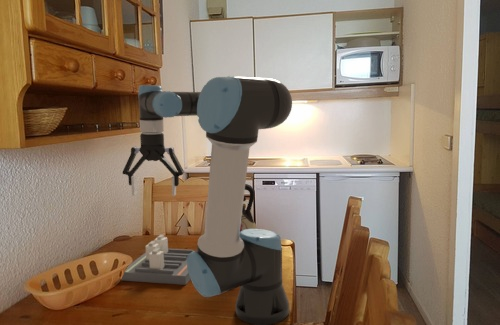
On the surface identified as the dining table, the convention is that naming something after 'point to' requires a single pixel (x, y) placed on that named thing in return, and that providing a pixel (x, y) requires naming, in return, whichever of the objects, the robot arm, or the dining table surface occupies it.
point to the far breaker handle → (162, 243)
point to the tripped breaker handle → (156, 259)
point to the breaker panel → (170, 274)
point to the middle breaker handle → (151, 248)
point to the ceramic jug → (248, 212)
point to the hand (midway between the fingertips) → (154, 194)
